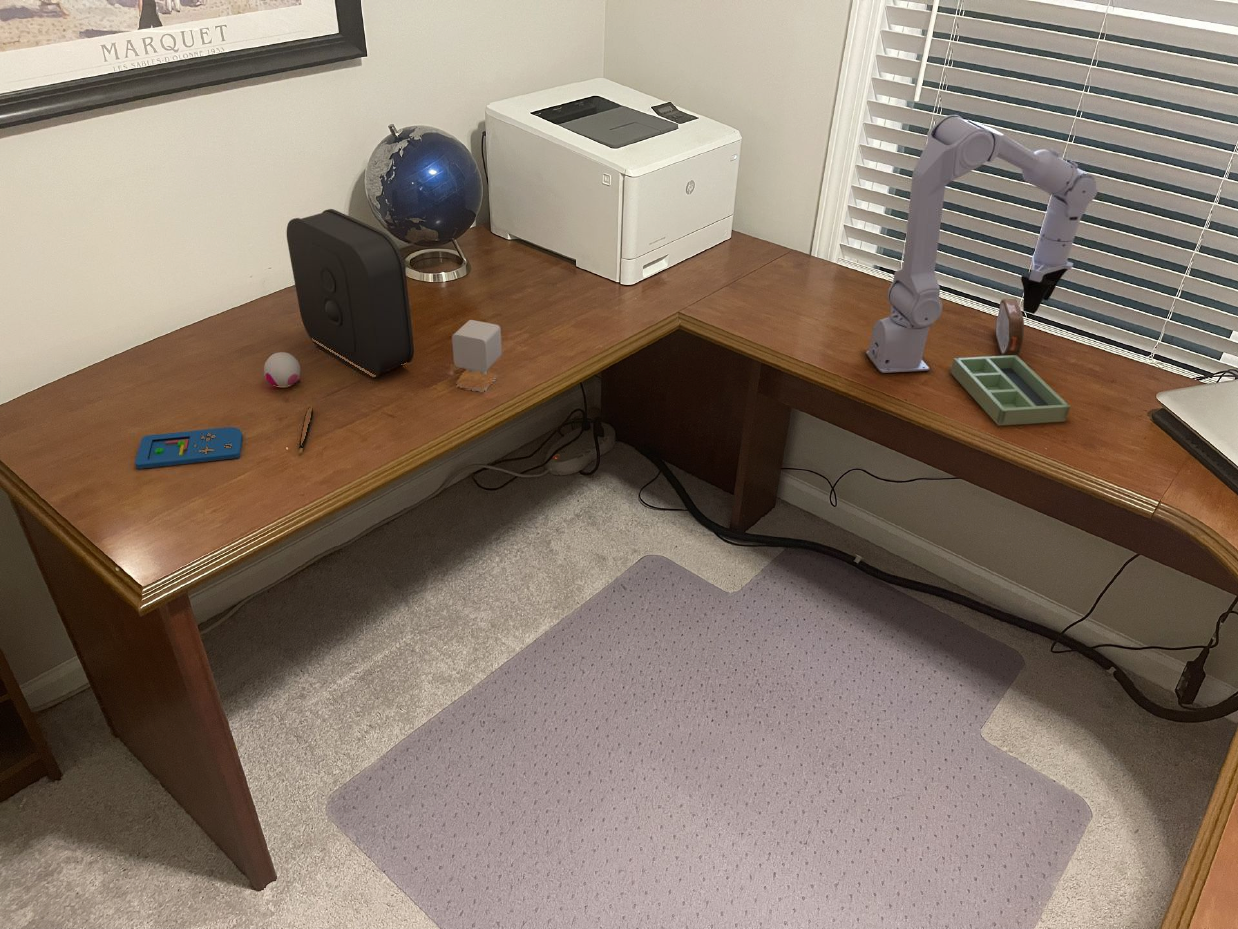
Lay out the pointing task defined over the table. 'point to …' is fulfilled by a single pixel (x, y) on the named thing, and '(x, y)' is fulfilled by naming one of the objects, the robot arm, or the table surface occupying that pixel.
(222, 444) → the handheld gaming device
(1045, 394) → the organizer
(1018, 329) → the tin
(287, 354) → the stress ball
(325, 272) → the speaker
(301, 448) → the fountain pen
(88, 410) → the table surface
